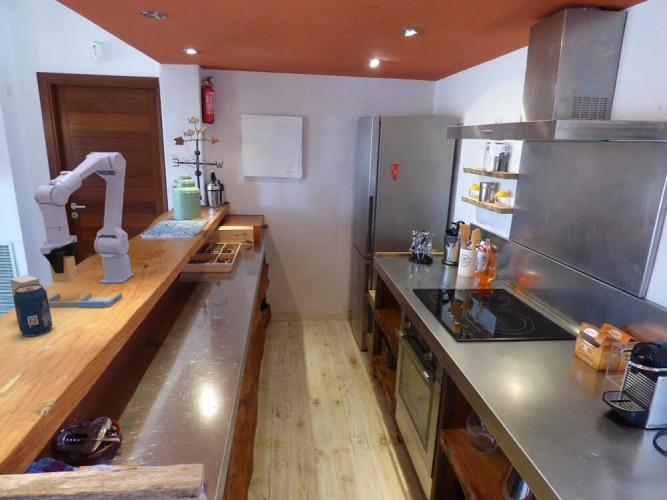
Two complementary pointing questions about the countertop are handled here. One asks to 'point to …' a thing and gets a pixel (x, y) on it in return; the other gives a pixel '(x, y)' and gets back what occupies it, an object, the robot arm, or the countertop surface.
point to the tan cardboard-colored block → (66, 271)
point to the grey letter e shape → (85, 301)
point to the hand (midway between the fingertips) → (64, 270)
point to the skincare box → (22, 282)
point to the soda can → (32, 309)
